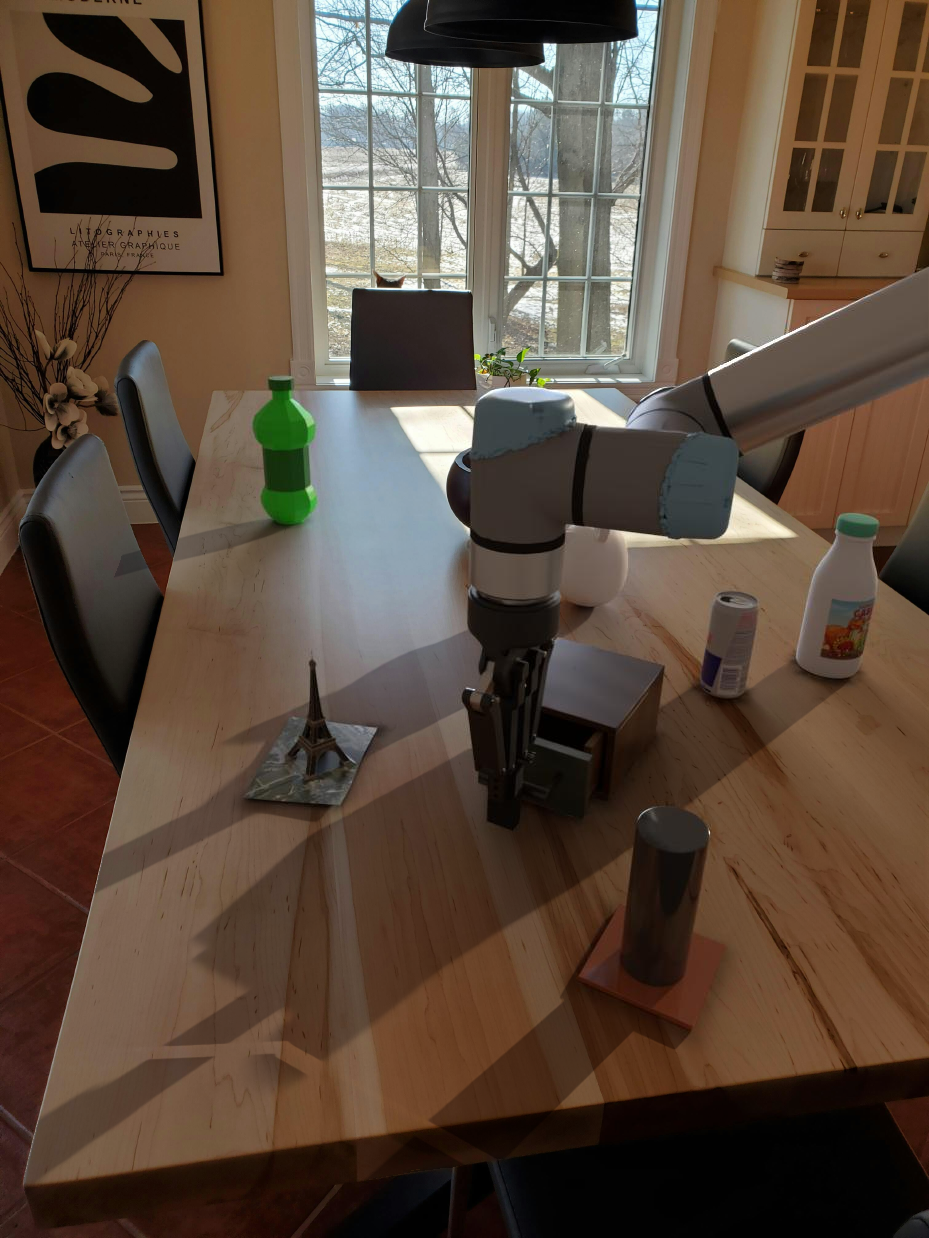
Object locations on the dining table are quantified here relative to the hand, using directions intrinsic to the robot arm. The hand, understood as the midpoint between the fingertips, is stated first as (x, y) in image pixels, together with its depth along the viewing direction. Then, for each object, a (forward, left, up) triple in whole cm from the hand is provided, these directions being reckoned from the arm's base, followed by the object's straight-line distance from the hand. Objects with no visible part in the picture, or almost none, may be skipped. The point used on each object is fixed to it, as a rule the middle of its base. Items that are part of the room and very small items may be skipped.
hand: (503, 821), depth 82 cm
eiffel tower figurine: (+23, -1, -3) cm, 23 cm away
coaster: (-17, +7, -2) cm, 18 cm away
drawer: (0, -10, -1) cm, 10 cm away
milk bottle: (-20, -52, -3) cm, 56 cm away
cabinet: (0, -18, -2) cm, 18 cm away
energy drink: (-10, -39, -3) cm, 40 cm away
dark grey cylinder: (-17, +7, -2) cm, 18 cm away
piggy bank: (+14, -53, -3) cm, 55 cm away
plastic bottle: (+73, -58, -3) cm, 93 cm away
